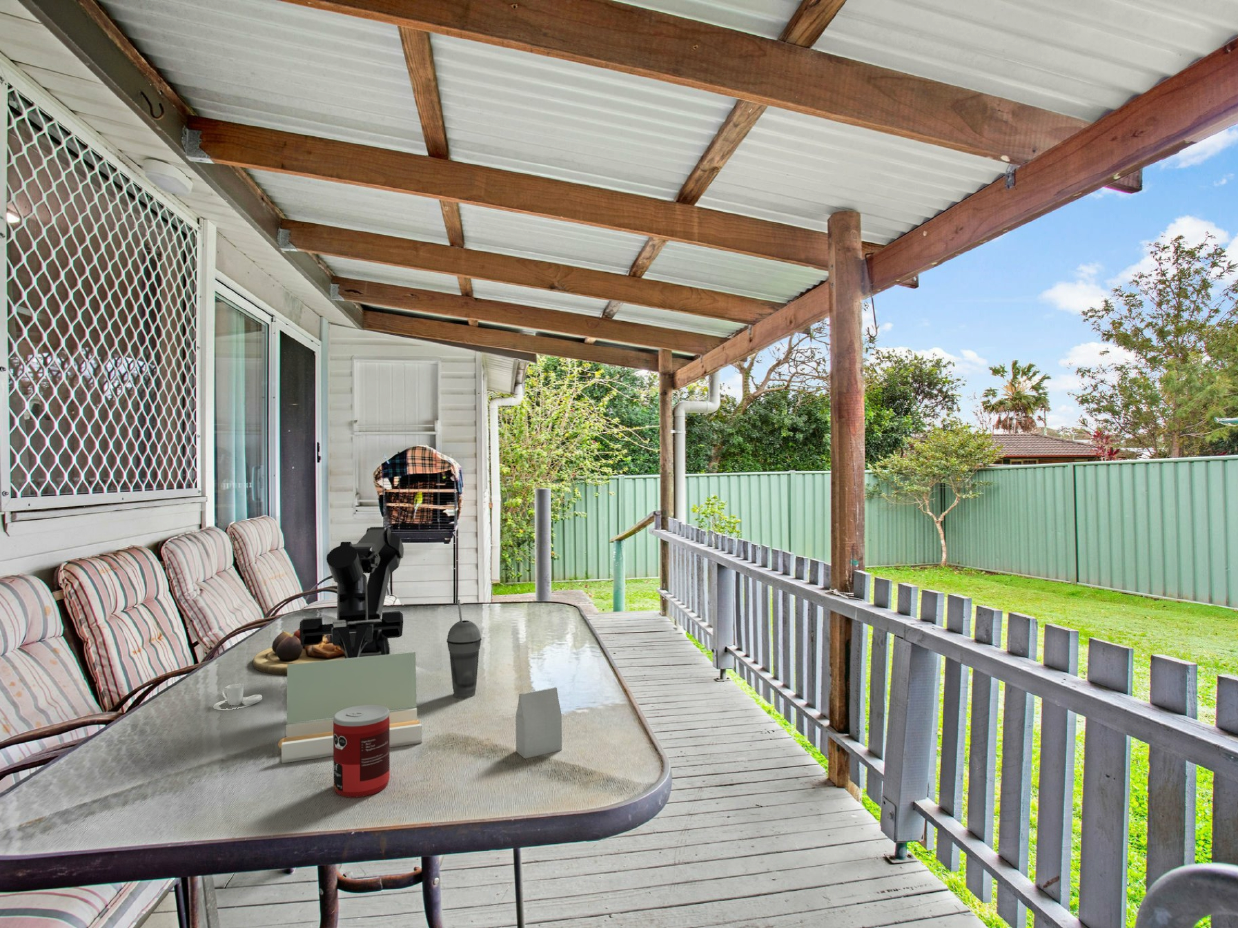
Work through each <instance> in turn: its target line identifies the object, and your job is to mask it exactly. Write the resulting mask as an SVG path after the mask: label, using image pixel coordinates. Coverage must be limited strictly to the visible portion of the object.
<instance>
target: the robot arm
mask: <svg viewBox="0 0 1238 928" xmlns="http://www.w3.org/2000/svg"><path fill="white" fill-rule="evenodd" d="M404 552H405V548H404V544H403V541H402V539H401V537H400V536H398V535H396V534H395V533H393V532H392V531H391V529H390V527H387V526H370V527H367V528H366V532H365V534H364V535H363V536H362V537H361V538H360V540H359V541H357V543H353V544H352V541H340V545H338V546H336V547H334V548H332V549H331V550H330V551H329V552H328V553H327V555H326V563H327V566H328V568H329V571H330V574H331V576H332V579H333V581H334V582H335V583H336V585H337V586H336V587H337V588H336V590H337V591H336V593H337V594H336V595H337V596H336V602H337V604H336V620H333V621H332V623H323V616H318V617H316V616H315V617H305V618H304V617H303V618H302V619H301V620H300V621H299V628H298V629H299V631H300V643H301V645H303V646H309V645H319V644H320V643H321V642H322V641H323V635H330V644H331V643H333V645H334V646H340V649H342V650H343V651H344V656H345V658H355V657H365V656H379V655H389V654H391V650H390V649H391V648H390V647H391V646H390V642H389V639H397V638H398V639H399V638H400V637H401V638H402V636H403V630H404V629H403V628H404V614H403V612H401V611H400V610H396V611H394V610H393V611H383V608H384V605H385V600H386V595H387V590H388V585H389V581H390V577H391V576H390V575H391V574H392V573H394V572H395V570H397V569H398V568H399V566H400V564H401V560H402V559H404ZM366 574H369V576H366ZM367 577H368V578H367Z"/></svg>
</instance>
